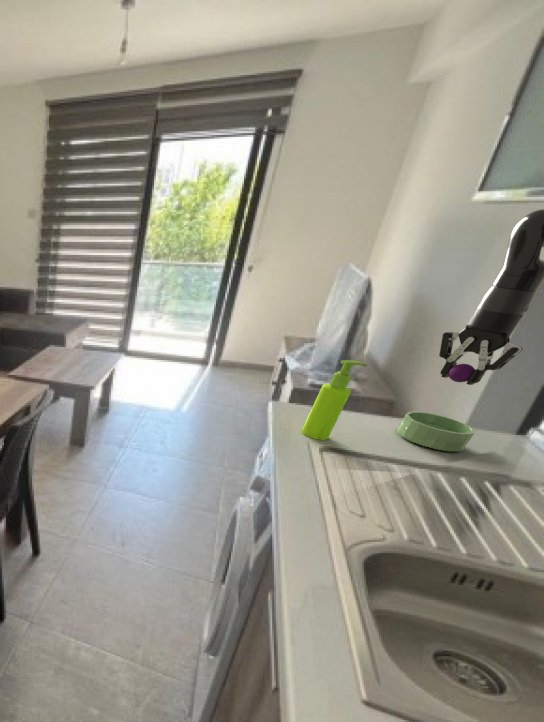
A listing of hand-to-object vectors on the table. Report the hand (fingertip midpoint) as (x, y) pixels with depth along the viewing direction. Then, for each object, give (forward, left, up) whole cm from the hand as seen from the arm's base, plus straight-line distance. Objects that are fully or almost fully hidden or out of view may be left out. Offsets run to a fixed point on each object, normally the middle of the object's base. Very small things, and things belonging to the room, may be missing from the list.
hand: (457, 380), depth 116 cm
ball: (0, 0, +2) cm, 2 cm away
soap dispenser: (+12, +23, -17) cm, 31 cm away
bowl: (0, -4, -17) cm, 18 cm away
